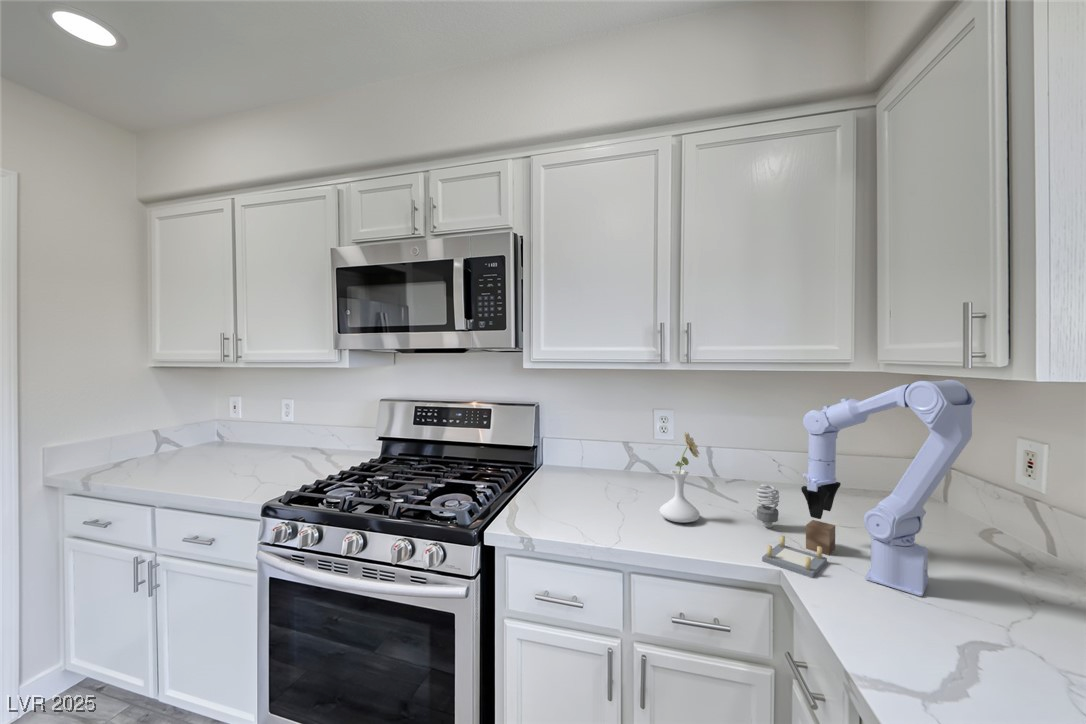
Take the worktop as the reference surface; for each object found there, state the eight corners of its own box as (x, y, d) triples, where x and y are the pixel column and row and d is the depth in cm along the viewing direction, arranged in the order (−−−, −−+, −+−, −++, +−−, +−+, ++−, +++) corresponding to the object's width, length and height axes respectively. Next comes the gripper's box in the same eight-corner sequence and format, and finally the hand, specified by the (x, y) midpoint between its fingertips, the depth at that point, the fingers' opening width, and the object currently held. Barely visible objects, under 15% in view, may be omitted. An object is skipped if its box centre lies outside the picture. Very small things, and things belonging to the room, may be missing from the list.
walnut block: (835, 549, 110) (835, 525, 110) (828, 555, 107) (829, 530, 106) (812, 543, 114) (812, 519, 113) (805, 548, 110) (806, 524, 110)
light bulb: (751, 525, 125) (751, 482, 124) (766, 522, 127) (767, 480, 126) (768, 533, 119) (768, 488, 119) (783, 530, 121) (784, 486, 121)
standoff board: (826, 562, 103) (827, 547, 103) (812, 577, 96) (812, 561, 96) (778, 547, 111) (779, 533, 111) (762, 561, 104) (762, 546, 104)
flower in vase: (685, 529, 122) (686, 438, 121) (651, 517, 131) (651, 432, 130) (710, 518, 130) (711, 433, 129) (676, 507, 139) (677, 427, 138)
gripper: (812, 451, 117) (812, 502, 118) (793, 461, 107) (792, 516, 108) (844, 456, 112) (843, 509, 112) (827, 466, 102) (826, 525, 103)
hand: (820, 513), depth 110 cm, fingers open, 7 cm apart
